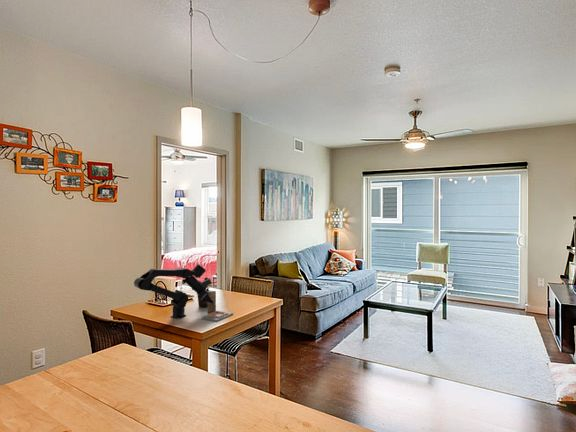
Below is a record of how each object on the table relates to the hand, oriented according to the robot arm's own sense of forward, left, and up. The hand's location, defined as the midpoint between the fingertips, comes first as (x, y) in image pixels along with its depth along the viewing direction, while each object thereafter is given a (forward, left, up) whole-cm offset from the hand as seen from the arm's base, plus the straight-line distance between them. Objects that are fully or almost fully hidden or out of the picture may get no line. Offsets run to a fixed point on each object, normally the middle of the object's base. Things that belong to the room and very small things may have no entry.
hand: (212, 301), depth 213 cm
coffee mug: (+9, +13, -7) cm, 18 cm away
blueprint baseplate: (-6, -8, -7) cm, 12 cm away
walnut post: (-1, +1, -7) cm, 7 cm away
